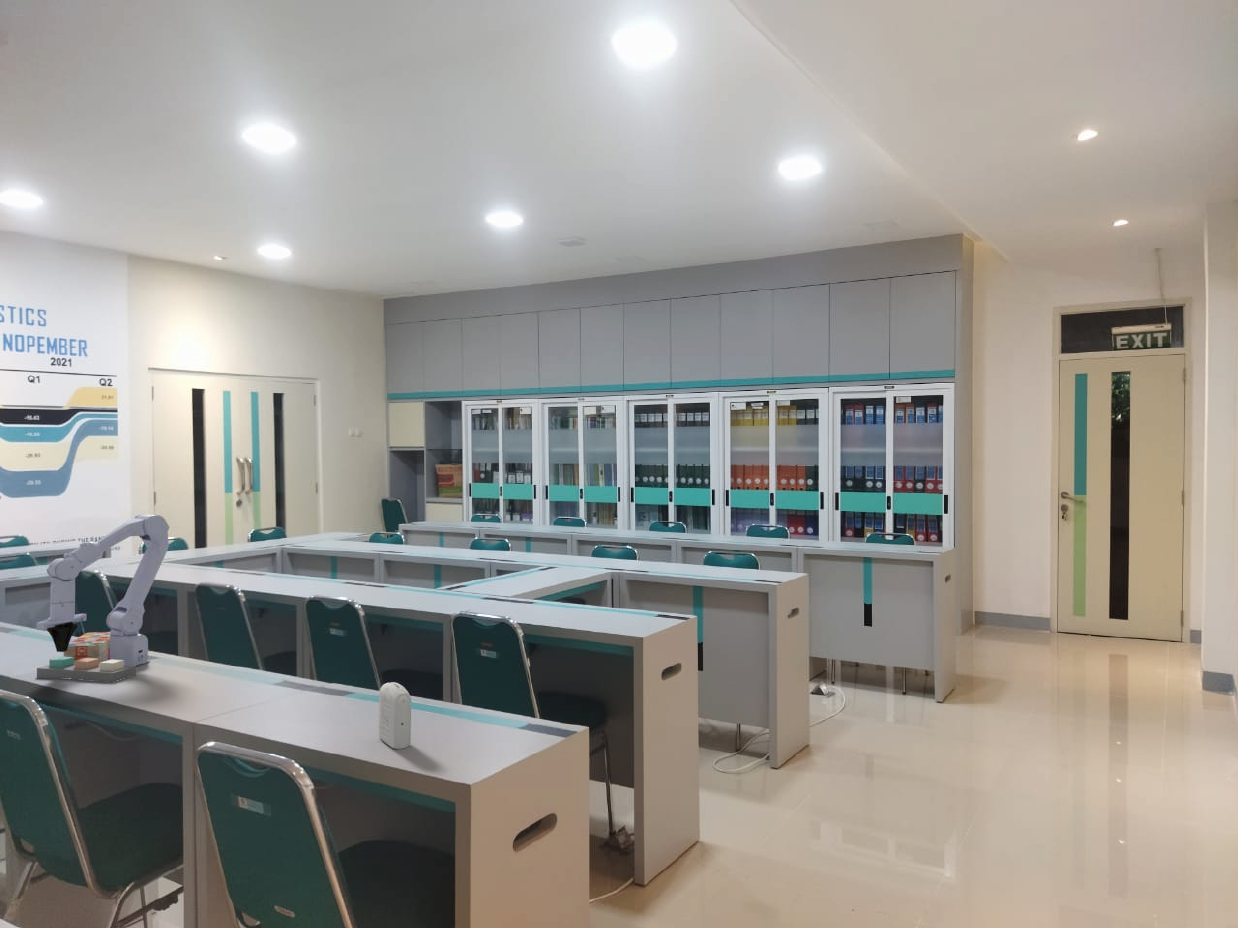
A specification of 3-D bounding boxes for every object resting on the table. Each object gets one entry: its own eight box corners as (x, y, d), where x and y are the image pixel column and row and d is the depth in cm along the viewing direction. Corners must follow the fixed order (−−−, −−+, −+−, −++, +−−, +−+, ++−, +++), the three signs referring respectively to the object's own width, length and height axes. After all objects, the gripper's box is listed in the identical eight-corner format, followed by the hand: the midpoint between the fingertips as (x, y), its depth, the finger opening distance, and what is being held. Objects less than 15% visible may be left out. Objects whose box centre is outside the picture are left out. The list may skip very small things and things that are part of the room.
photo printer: (413, 747, 175) (414, 687, 175) (393, 750, 172) (394, 690, 172) (395, 734, 183) (396, 677, 183) (376, 737, 180) (376, 679, 181)
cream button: (123, 672, 231) (124, 659, 231) (112, 676, 227) (112, 663, 227) (111, 671, 232) (111, 659, 232) (99, 675, 228) (99, 662, 228)
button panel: (135, 675, 232) (135, 666, 232) (113, 682, 225) (113, 672, 225) (61, 670, 237) (61, 661, 237) (36, 677, 229) (36, 668, 229)
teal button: (73, 669, 234) (74, 657, 234) (61, 673, 230) (62, 660, 230) (61, 668, 235) (61, 656, 235) (49, 672, 231) (49, 659, 231)
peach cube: (98, 671, 232) (98, 658, 232) (87, 674, 228) (87, 661, 228) (86, 670, 233) (86, 657, 233) (74, 673, 229) (74, 660, 229)
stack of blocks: (62, 668, 240) (111, 665, 243) (62, 646, 240) (111, 643, 243) (87, 652, 260) (131, 650, 264) (87, 632, 260) (131, 630, 264)
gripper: (71, 597, 240) (71, 645, 240) (27, 605, 226) (26, 656, 226) (93, 598, 239) (92, 646, 239) (49, 606, 225) (48, 657, 225)
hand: (61, 651), depth 232 cm, fingers closed
